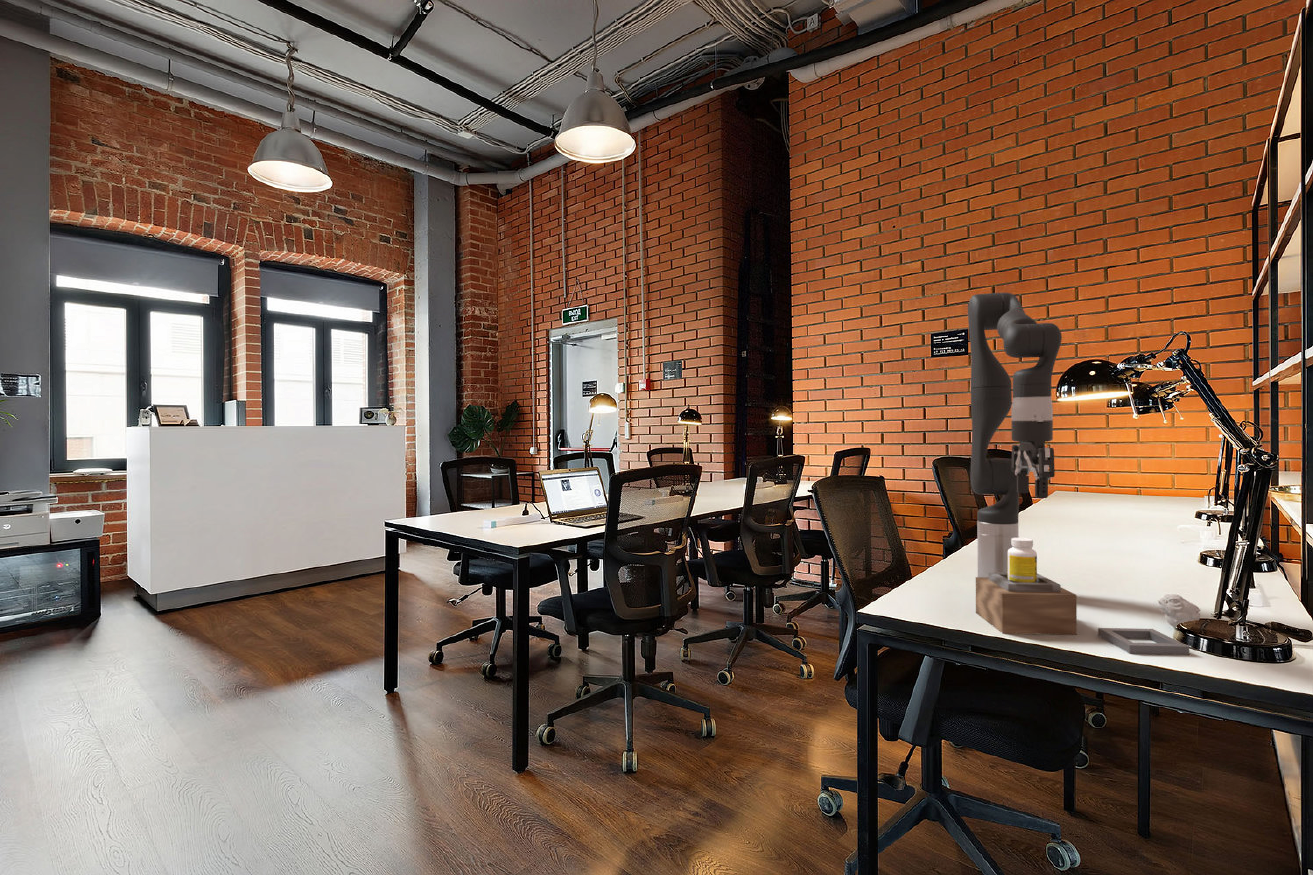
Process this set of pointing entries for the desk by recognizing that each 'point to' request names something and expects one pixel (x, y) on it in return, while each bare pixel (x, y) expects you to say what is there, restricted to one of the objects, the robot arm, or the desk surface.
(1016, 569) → the supplement bottle
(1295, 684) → the desk surface
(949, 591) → the desk surface
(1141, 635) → the frame
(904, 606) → the desk surface
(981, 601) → the walnut stand
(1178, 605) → the frog figurine
